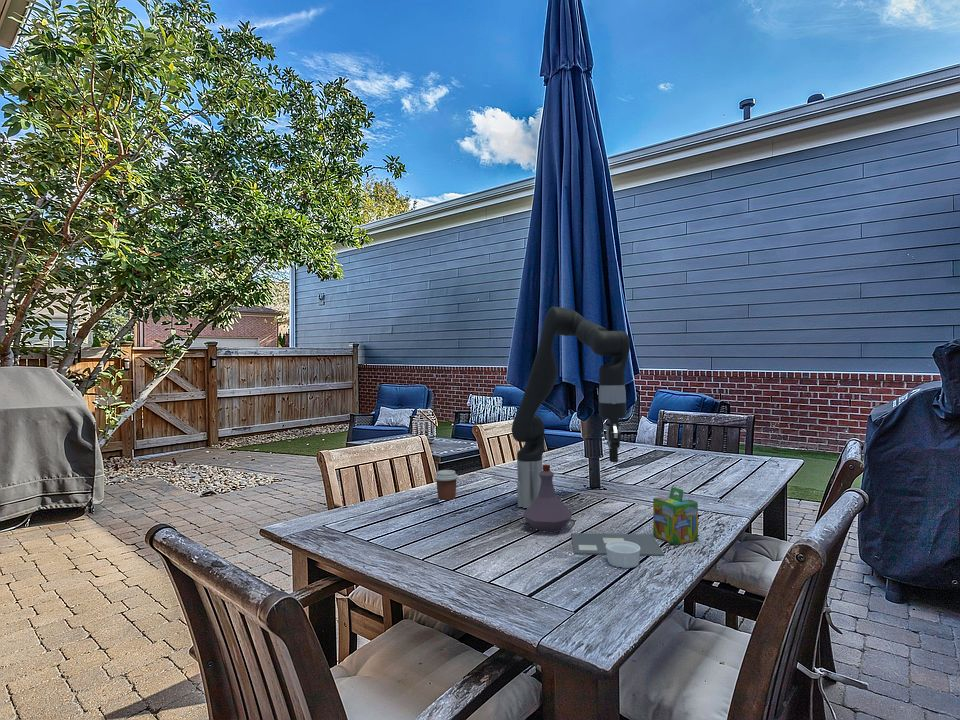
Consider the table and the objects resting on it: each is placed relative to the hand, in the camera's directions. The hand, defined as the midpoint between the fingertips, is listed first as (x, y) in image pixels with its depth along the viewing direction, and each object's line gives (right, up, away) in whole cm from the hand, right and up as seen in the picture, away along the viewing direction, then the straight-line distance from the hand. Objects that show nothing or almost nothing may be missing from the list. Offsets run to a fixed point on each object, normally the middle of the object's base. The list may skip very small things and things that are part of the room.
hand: (613, 461), depth 144 cm
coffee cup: (-51, -26, +50) cm, 76 cm away
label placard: (+1, -24, +2) cm, 24 cm away
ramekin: (0, -25, -11) cm, 27 cm away
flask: (-16, -25, +18) cm, 35 cm away
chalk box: (+20, -24, +6) cm, 32 cm away
